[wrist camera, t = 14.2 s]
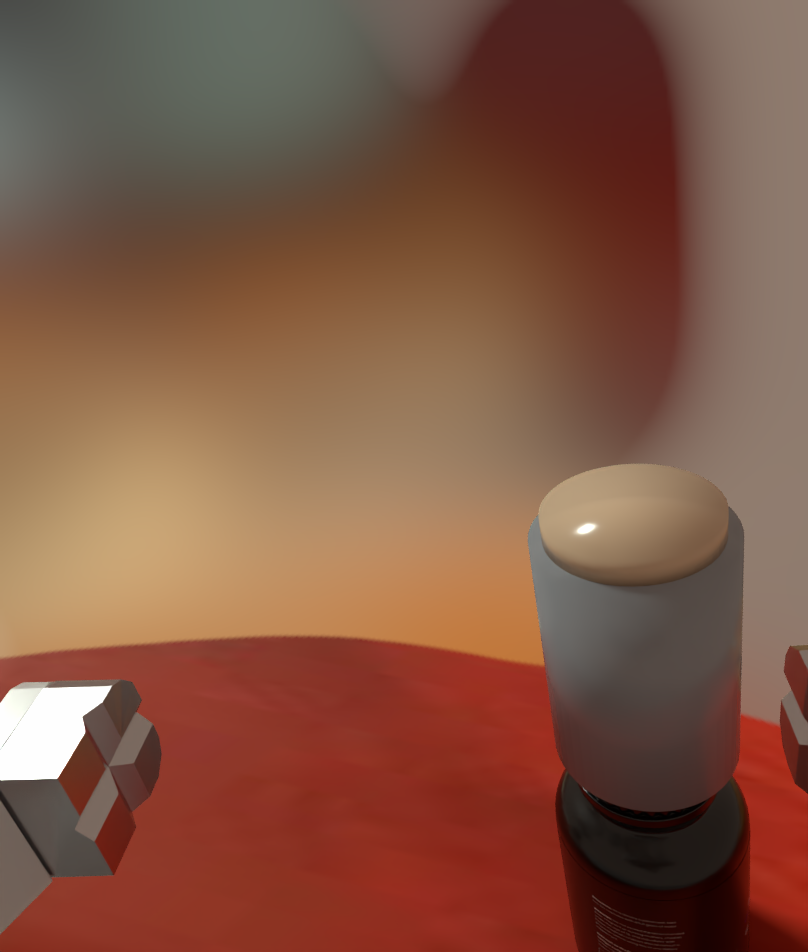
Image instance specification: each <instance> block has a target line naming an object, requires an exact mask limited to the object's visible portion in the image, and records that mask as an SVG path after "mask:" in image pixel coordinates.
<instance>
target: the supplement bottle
mask: <svg viewBox="0 0 808 952" xmlns="http://www.w3.org/2000/svg"><path fill="white" fill-rule="evenodd" d="M555 807H556V821H557V827H558V834H559V840H560V846H561V853H562V859H563V865H564V872H565V878H566V884H567V891H568V897H569V903H570V910H571V916H572V922H573V928H574V934H575V939H576V944H577V947H578V951H579V952H748V950H749V898H750V823H749V813H748V807H747V804H746V801H745V798H744V795H743V793H742V791H741V789H740V787H739V785H738V783H737V782H736V780H735V779H734V777H733V776H732V777H731V778H730V780H729V781H728V782H727V783H726V785H725V786H724V787H723V788H722V789H721V790H719V791H718V792H717V793H716V794H715V795H713V796H711V797H710V798H708V799H707V800H705V801H703V802H701V803H698V804H696V805H693V806H690V807H687V808H684V809H679V810H673V811H663V812H649V811H639V810H632V809H628V808H624V807H620V806H617V805H614V804H612V803H609V802H607V801H605V800H603V799H601V798H599V797H596V796H595V795H593V794H592V793H590V792H589V791H587V790H586V789H584V788H583V787H582V786H581V785H580V784H578V783H577V782H576V781H575V780H574V778H573V777H572V776H571V775H570V774H569V773H568V771H567V770H566V769H565V770H564V772H563V774H562V777H561V779H560V781H559V784H558V788H557V793H556V801H555Z"/></svg>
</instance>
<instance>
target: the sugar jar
mask: <svg viewBox="0 0 808 952" xmlns="http://www.w3.org/2000/svg"><path fill="white" fill-rule="evenodd" d="M528 546H529V554H530V560H531V568H532V575H533V583H534V590H535V597H536V604H537V611H538V619H539V626H540V633H541V641H542V648H543V654H544V662H545V670H546V677H547V684H548V692H549V699H550V706H551V713H552V721H553V728H554V735H555V742H556V748H557V752H558V755H559V758H560V760H561V761H562V763H563V765H564V767H565V768H566V770H567V771H568V773H569V774H570V775H571V776H572V777H573V778H574V780H575V781H576V782H577V783H578V784H580V785H581V786H582V787H583V788H584V789H586V790H587V791H589V792H590V793H592V794H593V795H595V796H596V797H599V798H601V799H603V800H605V801H607V802H609V803H612V804H614V805H617V806H620V807H624V808H628V809H632V810H639V811H649V812H663V811H673V810H679V809H684V808H687V807H690V806H693V805H696V804H698V803H701V802H703V801H705V800H707V799H708V798H710V797H711V796H713V795H715V794H716V793H717V792H718V791H719V790H721V789H722V788H723V787H724V786H725V785H726V783H727V782H728V781H729V780H730V778H731V777H732V775H733V773H734V771H735V769H736V766H737V763H738V760H739V752H740V713H741V663H742V662H741V661H742V616H743V568H744V567H743V566H744V565H743V563H744V530H743V527H742V524H741V521H740V519H739V518H738V516H737V515H736V514H735V512H734V511H733V510H732V509H731V508H730V507H729V506H728V503H727V500H726V498H725V496H724V495H723V493H722V492H721V491H720V490H719V489H718V488H717V487H716V486H715V485H714V484H712V483H711V482H710V481H708V480H706V479H705V478H703V477H701V476H699V475H697V474H694V473H691V472H689V471H686V470H682V469H678V468H675V467H669V466H664V465H655V464H623V465H614V466H607V467H602V468H598V469H594V470H590V471H587V472H584V473H581V474H578V475H576V476H574V477H572V478H569V479H567V480H566V481H564V482H562V483H561V484H559V485H558V486H556V487H555V488H554V489H552V490H551V491H550V492H549V493H548V494H547V496H546V497H545V498H544V500H543V501H542V503H541V505H540V508H539V514H538V516H537V517H536V518H535V519H534V521H533V523H532V525H531V526H530V530H529V533H528Z"/></svg>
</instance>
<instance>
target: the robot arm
mask: <svg viewBox="0 0 808 952" xmlns="http://www.w3.org/2000/svg"><path fill="white" fill-rule="evenodd" d="M784 673H785V675H786V677H787V680H788V682H789V685H790V687H791V689H792V690H791V691H790V692H789V693H788V694H787V695H786V696H785V697H784V698H783V699H782V700H781V712H780V726H781V735H782V743H783V748H784V752H785V755H786V759H787V763H788V766H789V769H790V771H791V774H792V777H793V779H794V782H795V784H796V785H798V786H799V787H800V788H801V789H803V790H804V791H805V792H806V793H808V645H797V646H790V647H789V649H788V651H787V654H786V658H785V666H784ZM141 701H142V700H141V698H140V696H139V694H138V692H137V690H136V688H135V686H134V685H133V683H132V682H130V681H125V680H82V681H55V682H25V683H21V684H20V685H18V686H16V687H14V688H12V689H11V690H10V691H9V692H8V694H7V695H6V696H5V698H4V699H3V700H2V702H1V703H0V934H1V933H2V932H3V931H4V930H5V929H6V928H7V927H8V926H9V925H10V924H11V923H12V922H13V921H14V920H15V919H16V918H17V917H18V916H19V915H20V914H21V913H22V912H23V911H24V910H25V909H26V908H27V907H28V905H29V904H30V903H31V902H32V901H33V900H34V899H35V898H36V897H37V896H38V895H39V894H40V893H41V892H42V891H43V890H44V889H45V888H46V887H47V886H48V885H49V884H50V883H51V882H52V878H51V877H75V876H107V875H114V874H115V872H116V870H117V868H118V865H119V863H120V861H121V859H122V857H123V854H124V852H125V850H126V848H127V846H128V844H129V841H130V839H131V837H132V835H133V833H134V831H135V828H136V825H135V821H134V817H133V814H132V811H134V810H135V809H136V808H137V807H138V806H139V805H141V804H142V803H143V802H144V801H145V800H146V799H148V798H149V797H150V795H151V793H152V790H153V788H154V786H155V783H156V781H157V779H158V776H159V769H160V761H161V748H160V741H159V736H158V734H157V732H156V730H155V727H154V725H153V724H152V723H151V722H150V721H148V720H147V719H145V718H144V717H143V716H141V715H140V714H138V713H137V710H138V708H139V705H140V703H141Z"/></svg>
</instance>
